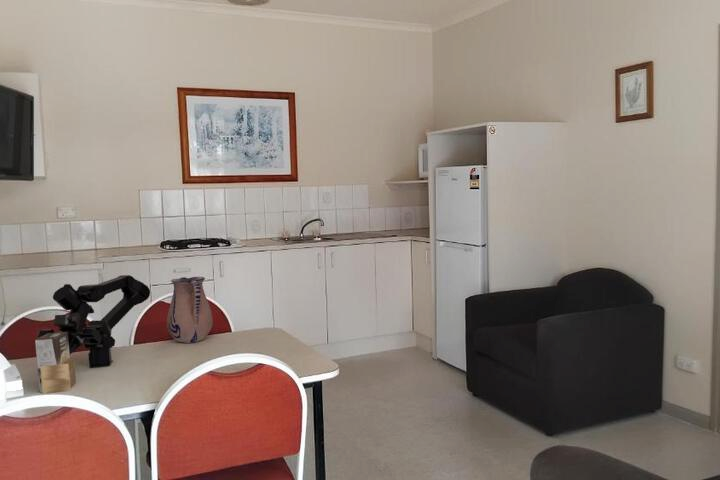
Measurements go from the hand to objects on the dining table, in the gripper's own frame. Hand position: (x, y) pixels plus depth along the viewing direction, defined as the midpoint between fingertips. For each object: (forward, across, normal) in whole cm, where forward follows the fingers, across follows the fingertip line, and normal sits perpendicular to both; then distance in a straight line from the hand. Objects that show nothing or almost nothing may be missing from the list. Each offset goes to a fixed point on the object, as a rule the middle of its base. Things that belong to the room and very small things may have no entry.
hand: (61, 359), depth 193 cm
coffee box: (+8, 0, +2) cm, 9 cm away
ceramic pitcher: (-32, +24, +42) cm, 58 cm away
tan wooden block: (+9, +2, +1) cm, 9 cm away
